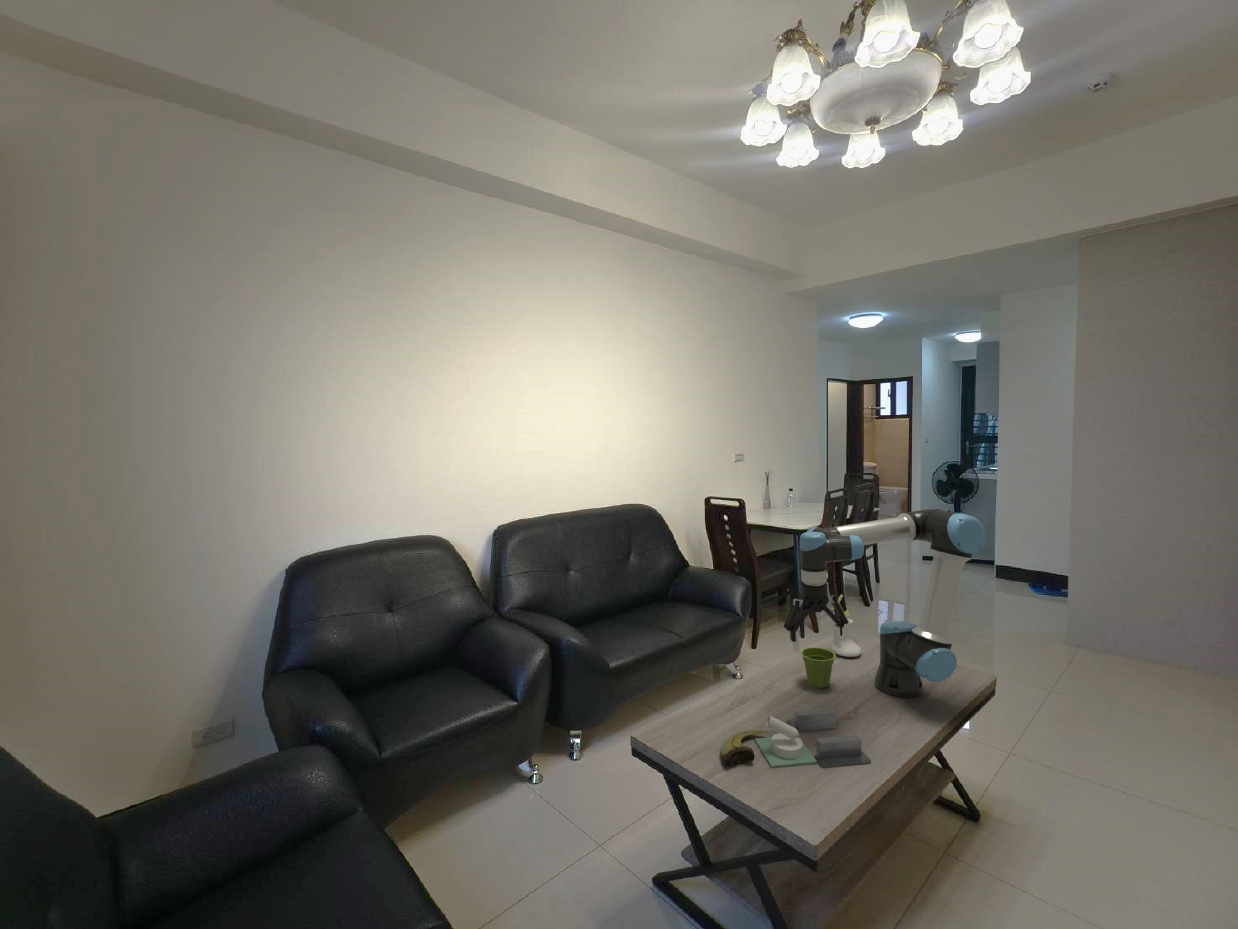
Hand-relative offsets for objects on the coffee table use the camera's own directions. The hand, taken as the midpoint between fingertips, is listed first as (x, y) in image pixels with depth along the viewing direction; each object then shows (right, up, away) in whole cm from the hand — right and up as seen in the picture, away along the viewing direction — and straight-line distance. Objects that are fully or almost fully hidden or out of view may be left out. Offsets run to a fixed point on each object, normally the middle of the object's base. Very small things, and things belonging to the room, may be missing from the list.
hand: (816, 648), depth 169 cm
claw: (-26, -25, -13) cm, 38 cm away
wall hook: (-15, -24, -15) cm, 32 cm away
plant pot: (+10, -21, +25) cm, 34 cm away
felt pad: (-15, -25, -14) cm, 32 cm away
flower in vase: (+29, -19, +49) cm, 60 cm away
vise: (-1, -24, -10) cm, 26 cm away
